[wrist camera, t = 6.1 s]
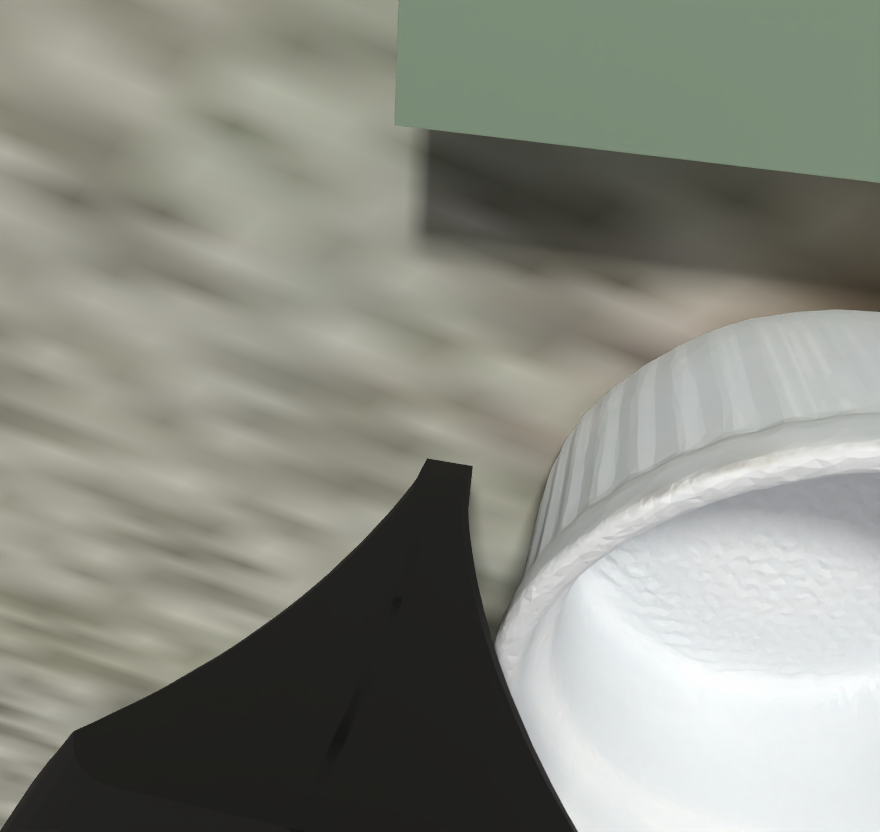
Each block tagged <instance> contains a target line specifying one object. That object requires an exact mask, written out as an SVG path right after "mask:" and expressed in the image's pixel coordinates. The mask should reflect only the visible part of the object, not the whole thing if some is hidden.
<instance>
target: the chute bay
mask: <svg viewBox="0 0 880 832" xmlns="http://www.w3.org/2000/svg"><path fill="white" fill-rule="evenodd" d="M395 125H397V126H405V127H414V128H422V129H431V130H439V131H447V132H456V133H464V134H473V135H481V136H490V137H498V138H506V139H515V140H523V141H532V142H540V143H549V144H557V145H565V146H574V147H582V148H591V149H599V150H608V151H616V152H624V153H633V154H641V155H650V156H658V157H667V158H675V159H683V160H692V161H700V162H709V163H717V164H725V165H734V166H742V167H751V168H759V169H768V170H776V171H784V172H793V173H801V174H810V175H818V176H827V177H835V178H843V179H852V180H860V181H869V182H877V183H880V0H399V9H398V39H397V69H396V99H395Z"/></svg>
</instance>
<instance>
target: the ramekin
mask: <svg viewBox="0 0 880 832" xmlns="http://www.w3.org/2000/svg"><path fill="white" fill-rule="evenodd" d="M494 647H495V650H496V654H497V657H498V660H499V663H500V665H501V668H502V671H503V674H504V677H505V679H506V682H507V685H508V688H509V690H510V693H511V695H512V698H513V700H514V702H515V705H516V707H517V709H518V712H519V714H520V716H521V719H522V721H523V724H524V726H525V728H526V731H527V733H528V735H529V738H530V740H531V742H532V745H533V747H534V749H535V751H536V753H537V755H538V757H539V759H540V761H541V763H542V765H543V767H544V769H545V771H546V773H547V775H548V777H549V779H550V782H551V784H552V785H553V787H554V789H555V791H556V793H557V795H558V797H559V798H560V800H561V802H562V804H563V806H564V808H565V810H566V812H567V813H568V815H569V817H570V819H571V820H572V822H573V824H574V826H575V827H576V829H577V831H578V832H880V312H871V311H857V310H836V309H834V310H822V311H804V312H794V313H787V314H780V315H773V316H766V317H759V318H752V319H747V320H744V321H742V322H738V323H734V324H731V325H728V326H724V327H722V328H719V329H716V330H713V331H710V332H707V333H704V334H702V335H700V336H698V337H696V338H694V339H692V340H690V341H688V342H686V343H684V344H682V345H680V346H678V347H676V348H674V349H672V350H671V351H669V352H667V353H666V354H664V355H662V356H660V357H658V358H657V359H655V360H653V361H651V362H649V363H647V364H646V365H644V366H643V367H641V368H640V369H638V370H637V371H636V372H634V373H633V374H631V375H630V376H629V377H627V378H626V379H624V380H623V381H621V382H620V383H618V384H617V385H615V386H614V387H612V388H611V389H610V390H609V391H608V392H607V393H606V394H605V395H604V396H603V397H602V398H601V399H600V400H599V401H598V402H597V403H596V404H595V405H594V406H593V407H592V408H591V409H590V410H588V411H587V412H586V413H585V414H584V415H583V416H582V418H581V419H580V421H579V423H578V424H577V426H576V427H575V428H574V430H573V431H572V432H571V433H570V435H569V436H568V437H567V439H566V441H565V442H564V444H563V447H562V449H561V452H560V454H559V456H558V458H557V459H556V461H555V462H554V464H553V466H552V469H551V471H550V474H549V477H548V480H547V483H546V487H545V491H544V494H543V497H542V500H541V503H540V506H539V511H538V515H537V519H536V524H535V528H534V533H533V537H532V541H531V546H530V550H529V554H528V558H527V562H526V566H525V569H524V573H523V577H522V581H521V583H520V585H519V587H518V589H517V591H516V592H515V594H514V596H513V598H512V600H511V602H510V604H509V606H508V608H507V610H506V612H505V614H504V617H503V619H502V622H501V624H500V627H499V630H498V633H497V636H496V639H495V642H494Z"/></svg>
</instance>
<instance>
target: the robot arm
mask: <svg viewBox="0 0 880 832" xmlns="http://www.w3.org/2000/svg"><path fill="white" fill-rule="evenodd" d="M472 467H473V466H468V465H462V464H456V463H450V462H444V461H439V460H433V459H427V460H426V462H425V464H424V466H423V467H422V469H421V471H420V473H419V475H418V477H417V479H416V480H415V482H414V483H413V484H412V486H411V487H410V488H409V489H408V491H407V492H406V493H405V494H404V496H403V497H402V498H401V499H400V500H399V502H398V503H397V504H396V505H395V506H394V508H393V509H392V510H391V511H390V512H389V513H388V514H387V515H386V516H385V518H384V519H383V520H382V521H381V522H380V523H379V524H378V525H377V526H376V527H375V528H374V529H373V531H372V532H371V533H370V534H369V535H368V536H367V537H366V538H365V539H364V540H363V541H362V542H361V543H360V544H359V545H358V546H357V547H356V548H355V549H354V550H353V551H352V552H351V553H350V554H349V555H348V556H347V557H346V558H345V559H343V560H342V561H341V562H340V563H339V564H338V565H337V566H336V567H335V568H334V569H333V570H332V571H331V572H330V573H329V574H328V575H326V576H325V577H324V578H323V579H322V580H321V581H320V582H318V583H317V584H316V585H315V586H314V587H313V588H311V589H310V590H309V591H308V592H307V593H305V594H304V595H303V596H302V597H301V598H299V599H298V600H297V601H295V602H294V603H293V604H292V605H290V606H289V607H288V608H287V609H285V610H284V611H283V612H281V613H280V614H279V615H277V616H276V617H275V618H273V619H272V620H270V621H269V622H268V623H266V624H265V625H263V626H262V627H261V628H259V629H258V630H256V631H255V632H254V633H252V634H251V635H249V636H248V637H246V638H245V639H244V640H242V641H241V642H239V643H238V644H236V645H235V646H233V647H232V648H230V649H228V650H227V651H225V652H224V653H222V654H221V655H219V656H217V657H216V658H214V659H212V660H210V661H209V662H207V663H205V664H204V665H202V666H200V667H198V668H197V669H195V670H193V671H192V672H190V673H188V674H187V675H185V676H183V677H181V678H180V679H178V680H176V681H175V682H173V683H171V684H169V685H168V686H166V687H164V688H162V689H160V690H159V691H157V692H155V693H153V694H151V695H149V696H147V697H145V698H143V699H141V700H139V701H137V702H135V703H133V704H131V705H129V706H126V707H124V708H122V709H120V710H118V711H116V712H114V713H112V714H110V715H108V716H106V717H104V718H102V719H100V720H98V721H95V722H93V723H91V724H89V725H87V726H84V727H82V728H80V729H78V730H75V731H73V733H72V734H71V735H70V736H69V738H68V739H67V740H66V741H65V743H64V744H63V745H62V746H61V748H60V749H59V750H58V751H57V753H56V754H55V755H54V756H53V757H52V758H51V759H50V760H49V762H48V763H47V764H46V765H45V767H44V768H43V769H42V771H41V772H40V773H39V774H38V776H37V777H36V778H35V780H34V781H33V782H32V784H31V785H30V787H29V788H28V790H27V791H26V793H25V794H24V796H23V797H22V799H21V800H20V802H19V803H18V805H17V806H16V808H15V809H14V811H13V812H12V814H11V815H10V817H9V818H8V820H7V821H6V823H5V824H4V826H3V827H2V829H1V830H0V832H578V831H577V829H576V827H575V826H574V824H573V822H572V820H571V819H570V817H569V815H568V813H567V812H566V810H565V808H564V806H563V804H562V802H561V800H560V798H559V797H558V795H557V793H556V791H555V789H554V787H553V785H552V784H551V782H550V779H549V777H548V775H547V773H546V771H545V769H544V767H543V765H542V763H541V761H540V759H539V757H538V755H537V753H536V751H535V749H534V747H533V745H532V742H531V740H530V738H529V735H528V733H527V731H526V728H525V726H524V724H523V721H522V719H521V716H520V714H519V712H518V709H517V707H516V705H515V702H514V700H513V698H512V695H511V693H510V690H509V688H508V685H507V682H506V679H505V677H504V674H503V671H502V668H501V665H500V663H499V660H498V657H497V654H496V650H495V647H494V644H493V641H492V638H491V635H490V631H489V628H488V624H487V620H486V617H485V613H484V609H483V605H482V600H481V596H480V592H479V587H478V583H477V578H476V573H475V568H474V561H473V554H472V548H471V541H470V532H469V520H468V505H469V496H470V487H471V478H472Z"/></svg>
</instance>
